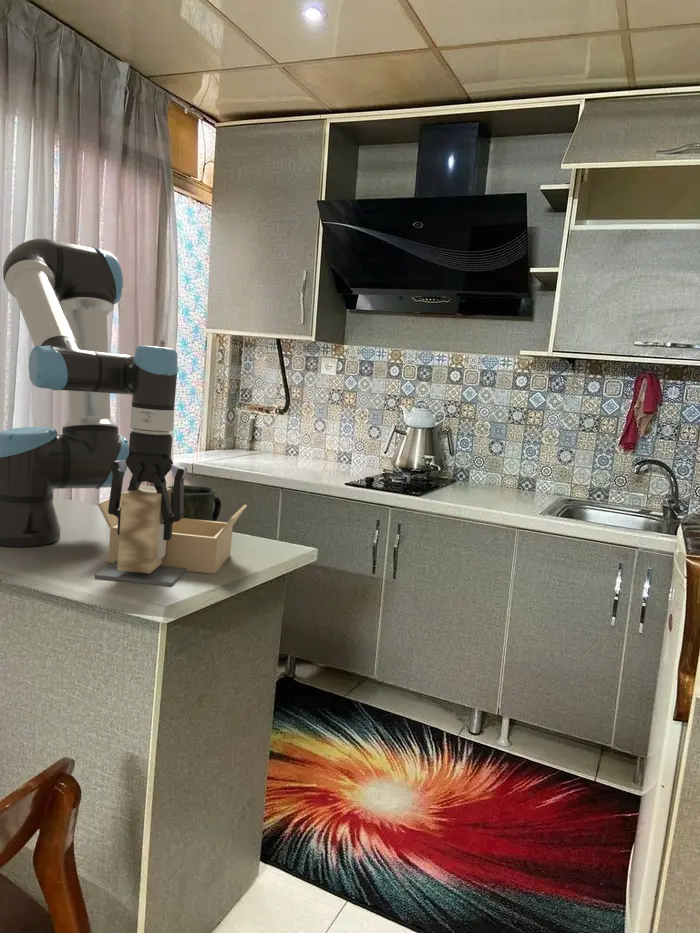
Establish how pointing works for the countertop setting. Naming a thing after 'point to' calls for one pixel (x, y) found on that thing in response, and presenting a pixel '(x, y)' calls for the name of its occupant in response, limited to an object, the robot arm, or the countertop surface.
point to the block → (140, 530)
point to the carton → (186, 542)
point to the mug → (198, 503)
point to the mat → (143, 575)
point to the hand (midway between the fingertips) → (143, 554)
